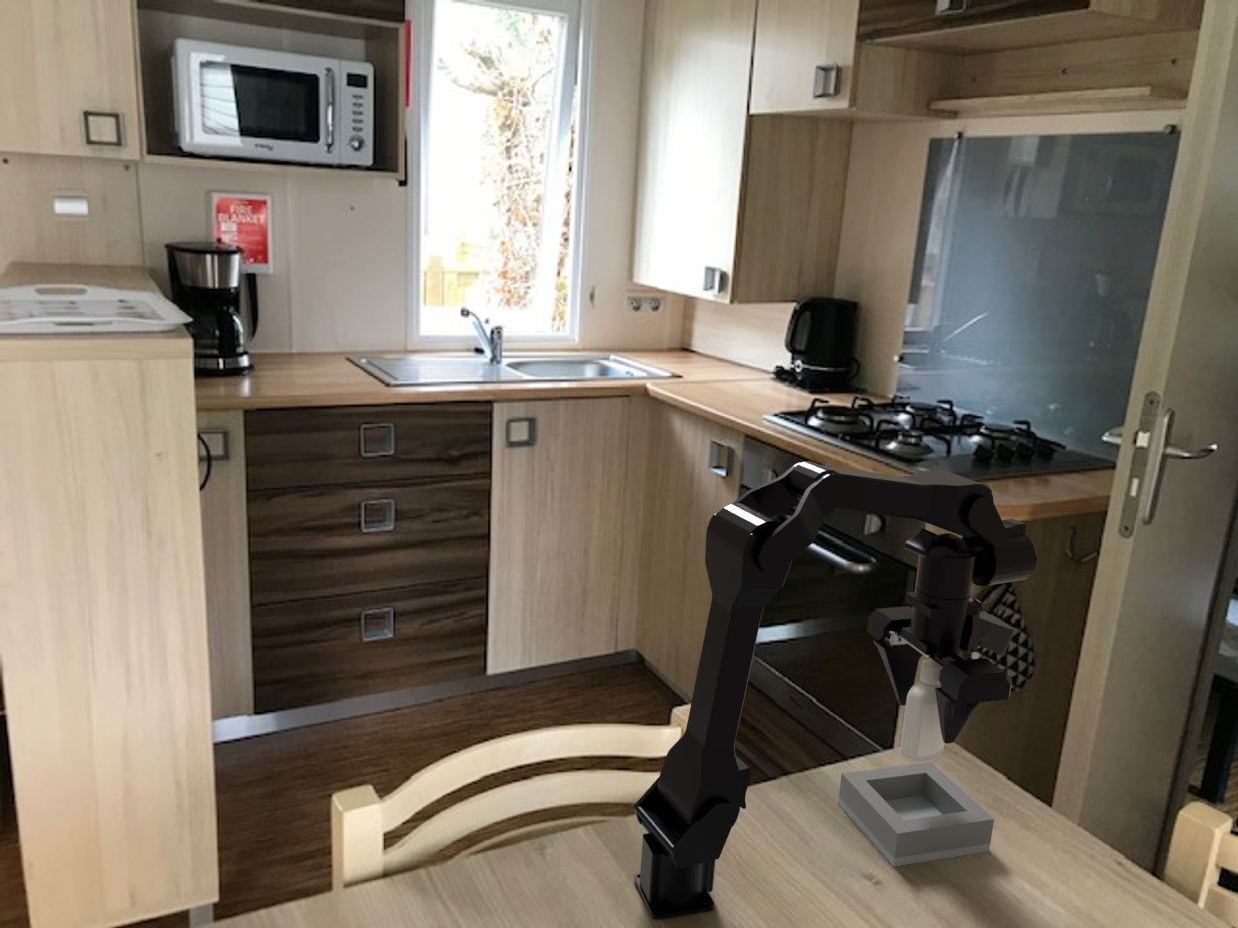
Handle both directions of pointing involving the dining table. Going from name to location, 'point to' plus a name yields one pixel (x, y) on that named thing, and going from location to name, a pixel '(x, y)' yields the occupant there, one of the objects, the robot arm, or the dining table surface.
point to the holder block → (915, 813)
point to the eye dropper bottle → (923, 716)
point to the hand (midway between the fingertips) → (925, 722)
